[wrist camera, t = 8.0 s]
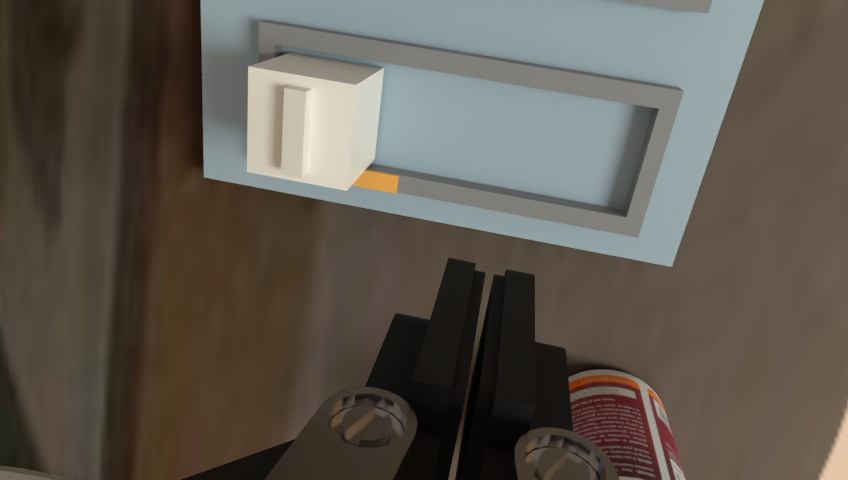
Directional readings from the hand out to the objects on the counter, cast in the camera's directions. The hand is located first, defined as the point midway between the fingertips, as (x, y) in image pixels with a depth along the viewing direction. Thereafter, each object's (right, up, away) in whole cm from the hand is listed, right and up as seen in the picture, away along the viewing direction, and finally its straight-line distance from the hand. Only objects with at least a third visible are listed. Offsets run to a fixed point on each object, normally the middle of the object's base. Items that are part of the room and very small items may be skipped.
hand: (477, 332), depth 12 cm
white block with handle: (-5, +8, +15) cm, 17 cm away
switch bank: (+1, +11, +13) cm, 18 cm away
